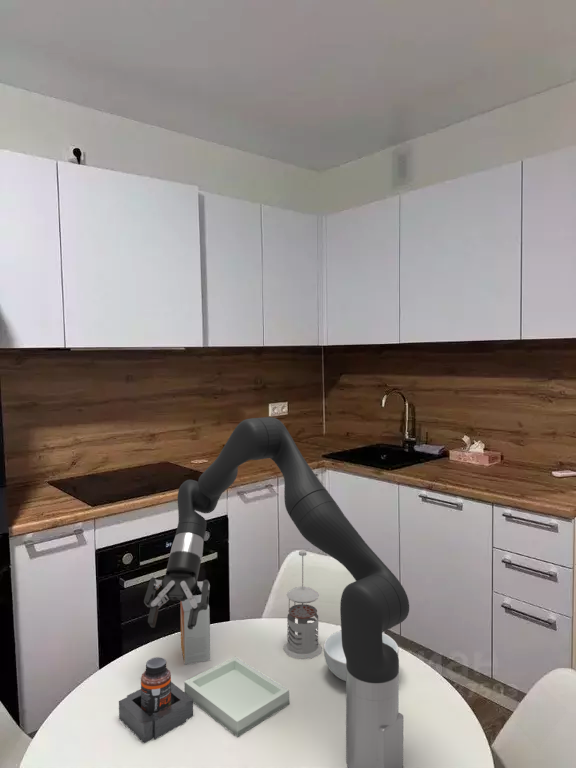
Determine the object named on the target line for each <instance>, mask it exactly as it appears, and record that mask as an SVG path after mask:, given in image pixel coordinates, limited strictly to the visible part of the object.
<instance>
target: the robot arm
mask: <svg viewBox="0 0 576 768" xmlns="http://www.w3.org/2000/svg"><path fill="white" fill-rule="evenodd" d="M266 459H270V460H272V461H273V462H274V463H275V464H276V466H277V467H278V469H279V471H280V473H281V475H282V476H283V479H284V480H283V482H284V490H283V491H284V494H283V495H284V507H285V510H286V512H287V514H288V516H289V518H290V519H291V521H292V522H293V524H294V525H295V527H296V529H297V530H298V531H299V533H300V534H301V536H302V537H303V538H304V539H305V540H306V541H308V542H309V544H311V545H312V546H314V547H315V548H317V549H318V550H320V551H322V552H323V553H325V554H327V555H328V556H329V557H332V558H333V559H335V560H336V561H337V562H338V563H340V564H341V565H342V566H343V567H344V568H346V570H347V571H348V573H350V575H351V576H352V577H353V579H354V580H355V581H353V582H351V583H348V584H347V585H346V586H345V587H344V589H343V591H342V593H341V598H340V603H339V604H340V606H339V607H340V628H341V634H342V647H343V651H344V654H345V657H346V681H345V690H346V691H345V701H346V702H345V750H346V751H345V760H346V765H347V768H403V767H404V715H403V714H402V713H401V712H399V708H400V707H399V705H400V704H399V703H400V702H399V699H400V698H399V695H400V694H399V693H400V692H399V691H400V690H399V689H400V688H399V687H400V686H399V685H400V682H399V681H400V672H399V671H400V659H399V654H398V655H397V653H396V651H395V650H394V649H393V648H392V647H390V646H389V645H387V644H385V643H383V641H382V633H385V632H386V631H388V630H390V629H391V628H392V629H393V628H394V627H396V626H398V625H399V624H402V623H403V622H404V621H405V620H406V619H407V618H408V616H409V613H410V601H409V598H408V595H407V592H406V590H405V588H404V586H403V585H402V583H401V582H400V580H399V579H398V578H397V577H396V575H395V574H394V573H393V571H392V570H391V569H390V568H389V567H388V566H387V565H386V564H385V563H384V562H383V561H382V560H381V557H379V556H378V555H377V554H376V552H374V550H372V548H371V547H370V546H369V545H368V544H367V543H366V541H365V540H364V539H363V538H362V536H361V535H360V534H359V532H358V531H357V530H356V528H355V527H354V526H353V525H352V523H351V521H349V519H348V518H347V517H346V515H345V514H344V513H343V511H342V509H341V508H340V506H339V505H338V503H337V502H336V501H335V499H334V498H333V496H332V495H331V494H330V492H329V491H328V490H327V488H326V487H325V486H324V485H323V483H322V482H321V481H320V480H319V478H318V477H317V475H316V474H315V472H314V471H313V470H312V468H311V466H310V465H309V464H308V462H307V461H306V459H305V458H304V456H303V455H302V453H301V451H300V449H299V448H298V446H297V445H296V442H295V440H294V439H293V436H292V435H291V434H290V432H289V430H288V429H287V427H286V426H285V424H284V423H283V422H282V421H281V420H280V419H278V418H275V417H272V416H265V417H252V418H246V419H244V420H242V421H240V422H239V423H238V424H237V426H235V428H234V430H233V431H232V433H231V435H230V436H229V438H228V439H227V441H226V443H225V444H224V446H223V448H222V449H221V451H220V452H219V454H218V456H217V457H216V459H215V460H214V461H213V462H212V463H211V464H210V465H209V466H208V468H206V469H205V471H204V472H203V473H201V475H199V477H198V481H197V480H193V479H187V480H185V481H183V482H182V484H181V485H180V486H179V488H178V491H177V508H178V509H177V511H178V521H177V522H178V524H177V527H176V531H175V532H176V533H175V536H174V539H173V542H172V544H171V549H170V553H169V557H168V562H167V566H166V571H165V575H164V578H162V579H157V578H156V577H154V576H153V577H150V580H149V583H148V586H147V589H146V593H145V595H144V599H143V603H144V604H145V606H146V608H150V609H149V613H148V616H147V623H148V625H149V626H150V627H151V628H156V624H157V620H158V615H159V611H160V610H159V609H160V608H161V607H162V606H163V605H164V604H167V602H168V601H169V600H170V601H172V602H173V601H185V600H187V599H188V600H189V602H190V604H191V606H192V609H190V615H189V620H188V629H193V627H195V625H196V622H197V617H198V612H199V611H200V610H206V609H207V608H208V605H209V601H210V599H209V598H210V588H211V585H210V581H209V580H208V579H204V580H202V581H201V580H200V581H198V578H199V573H200V568H201V563H202V562H201V561H202V559H203V553H204V541H205V534H206V530H207V524H208V523H207V520H206V518H205V517H203V516H202V515H201V514H211V513H212V512H214V510H215V509H216V507H217V506H218V502H219V500H220V498H221V496H222V494H223V493H224V492H226V490H227V489H229V488H230V487H231V486H232V485H233V484H234V483H235V481H236V479H237V478H238V477H237V476H238V472H239V471H238V470H239V469H238V468H239V466H241V465H243V464H244V463H246V462H248V461H260V460H266ZM198 512H199V513H201V514H199V513H198ZM161 586H162V589H161V591H160V592H159V593H158V594H157V596H156V597H155V595H156V591H158V590H159V588H161ZM198 588H199V591H200V592H201V594H200V595H201V602H200V603H196V601H195V599H194V597H193V596H194V595H193V594H194V593H195V591H196V590H198Z"/></svg>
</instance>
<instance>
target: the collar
mask: <svg viewBox="0 0 576 768" xmlns="http://www.w3.org/2000/svg"><path fill="white" fill-rule="evenodd" d="M193 717H194V702H193V699H192V698H191V697H190V696H189V695H187V694H186V693H185V692H184V690H182V689H181V688H180V687H178V686H177V685H176V684H174V683H173V682H172V681H171V705H170V706H168V707H167V708H165V709H163V710H161V711H159V712H157V713H155V714H153V715H151V716H149V715H147V714H146V713H145V712H144V711H143V710H142V709H141V688H140V689H138V690H136V691H134V692H131V693H129V694H127V695H126V697H124V698H123V699H120V700H118V718H119V719H120V721H121V722H122V723H123V724H124V725H126V727H127V728H128V729H129V730H130V731H131V732H132V733H134V735H135V736H137V738H138V739H139V740H140V741H141V742H142V743H143V744H145V743H147V742H149V741H151V740H153V739H154V740H157V739H158V738H160V737H162V736H164V735H166V734H168V733H169V732H171V731H173V730H175V729H176V728H178V727H180V726H182V725H183V724H185V723H187V720H188V719H190V718H193Z"/></svg>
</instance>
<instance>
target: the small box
mask: <svg viewBox="0 0 576 768" xmlns="http://www.w3.org/2000/svg"><path fill="white" fill-rule="evenodd" d="M201 595H202V594H198V595H197V594H195V595H193V597H194V599H195V601H196V603H200V602H201ZM179 601H180V600H179ZM179 605H180V648H181V653H182V658H183V663H184V665H190V664H196V662H197V663H203V662H207V661H211V621H210V619H211V617H210V612H211V611H210V605H209V604H208V608H207V609H206V610H200V611H199V612H198V617H197V622H196V625H195V627H193V629H188V620H189V615H190V609H192V606H191V604H190V602H189V600H188V599H187V600H185V601H180V604H179Z"/></svg>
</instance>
